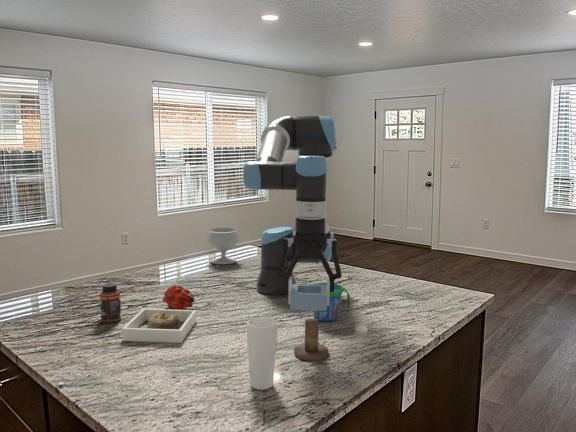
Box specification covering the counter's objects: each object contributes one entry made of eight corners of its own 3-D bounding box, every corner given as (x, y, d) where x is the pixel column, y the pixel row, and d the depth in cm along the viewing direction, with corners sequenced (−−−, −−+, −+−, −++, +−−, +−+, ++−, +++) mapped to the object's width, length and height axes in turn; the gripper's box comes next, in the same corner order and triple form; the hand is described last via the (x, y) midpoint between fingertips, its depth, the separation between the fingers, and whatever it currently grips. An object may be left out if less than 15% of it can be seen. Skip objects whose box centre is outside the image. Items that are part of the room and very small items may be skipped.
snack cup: (300, 323, 150) (301, 291, 148) (300, 311, 160) (300, 281, 159) (351, 324, 150) (352, 292, 148) (348, 312, 160) (348, 282, 159)
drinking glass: (246, 378, 114) (246, 317, 112) (275, 377, 115) (276, 316, 113) (246, 393, 108) (246, 328, 106) (277, 392, 108) (278, 327, 106)
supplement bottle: (125, 318, 153) (124, 283, 151) (113, 324, 147) (111, 288, 146) (109, 315, 155) (108, 281, 153) (96, 322, 149) (95, 286, 148)
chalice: (203, 264, 220) (203, 232, 218) (213, 257, 234) (213, 226, 232) (234, 266, 218) (233, 233, 216) (242, 259, 232) (242, 228, 229)
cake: (176, 336, 141) (175, 319, 139) (141, 336, 141) (140, 319, 140) (184, 321, 150) (183, 305, 149) (152, 321, 151) (150, 305, 149)
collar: (292, 298, 131) (292, 283, 131) (326, 299, 131) (326, 285, 130) (290, 309, 122) (290, 293, 122) (326, 310, 122) (326, 295, 121)
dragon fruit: (165, 309, 166) (193, 320, 161) (152, 301, 159) (180, 312, 153) (177, 286, 169) (204, 297, 163) (164, 277, 162) (193, 288, 156)
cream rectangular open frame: (143, 319, 152) (143, 308, 151) (196, 321, 151) (196, 310, 150) (122, 340, 135) (121, 328, 135) (181, 342, 134) (181, 330, 134)
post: (295, 345, 133) (295, 314, 132) (328, 347, 133) (328, 315, 131) (293, 360, 124) (293, 326, 123) (328, 361, 124) (329, 327, 122)
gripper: (265, 218, 120) (265, 306, 124) (354, 220, 119) (351, 309, 122) (269, 214, 128) (268, 297, 131) (353, 216, 126) (350, 300, 129)
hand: (308, 303), depth 127 cm, fingers closed on collar, 9 cm apart
